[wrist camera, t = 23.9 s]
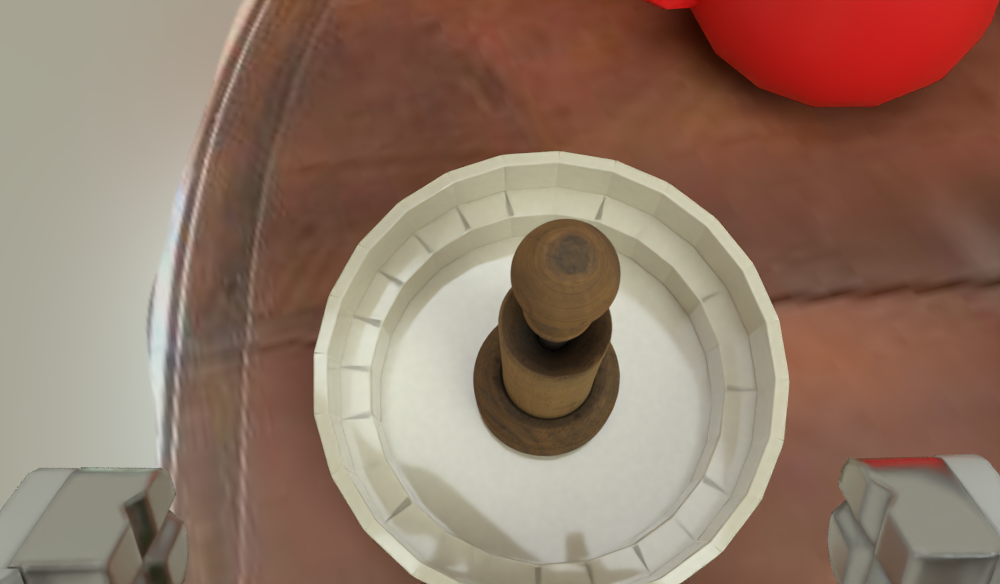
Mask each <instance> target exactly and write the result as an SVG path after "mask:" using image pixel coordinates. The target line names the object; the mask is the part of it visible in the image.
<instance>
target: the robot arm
mask: <svg viewBox="0 0 1000 584" xmlns="http://www.w3.org/2000/svg"><path fill="white" fill-rule="evenodd" d="M838 485H839V487H840V489H841V491H842V493H843V494H844V496H845V498H846V500H845V501H844V502H843V503H842V504H841V505H840V506H839V507H837V508H836V509H835V510H834V511H833V512H832V513H831V519H830V524H829V530H828V548H829V558H830V562H831V566H832V570H833V573H834V576H835V578H836V580H837V583H838V584H1000V475H999V474H998V473H997V472H996V470H995V469H994V468H993V467H992V465H991V464H990V463H989V462H988V461H987V460H986V459H985V458H983V457H981V456H979V455H977V454H959V455H934V456H932V457H882V458H848V460H847V461H846V463H845V464H844V466H843V467H842V471H841V475H840V479H839V483H838ZM175 496H176V491H175V488H174V485H173V481H172V478H171V475H170V473H169V472H168V471H166V470H164V469H162V468H80V469H78V468H39V469H37V470H35V471H33V472H31V473H29V474H28V475H27V476H26V477H25V478H24V480H23V481H22V482H21V484H20V485H19V486H18V488H17V489H16V490H15V492H14V493H13V494H12V495H11V497H10V498H9V500H8V501H7V502H6V503H5V505H4V506H3V507H2V509H1V510H0V584H183V583H184V580H185V574H186V568H187V562H188V539H187V534H186V530H185V526H184V522H183V521H182V520H180V519H179V518H178V517H177V516H176V515H175V514H173V513H172V512H171V511H170V510H169V508H170V506H171V504H172V502H173V500H174V498H175Z"/></svg>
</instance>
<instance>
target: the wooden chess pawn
mask: <svg viewBox="0 0 1000 584" xmlns="http://www.w3.org/2000/svg"><path fill="white" fill-rule="evenodd" d="M620 277H621V271H620V263H619V258H618V255H617V253H616V250H615V248H614V246H613V245H612V243H611V242H610V240H609V239H608V238H607V237H606V236H605V234H603V233H602V232H601V231H600V230H599V229H597V228H596V227H594V226H593V225H591V224H589V223H586V222H583V221H580V220H575V219H558V220H553V221H549V222H547V223H544V224H542V225H540V226H538V227H536V228H535V229H533V230H532V231H531V232H530V233H529V234H528V235H527V236H526V237H525V238H524V239H523V240H522V241H521V243H520V244H519V246H518V247H517V249H516V251H515V254H514V256H513V259H512V263H511V270H510V279H511V286H512V287H511V288H510V289H509V291H508V292H507V294H506V295H505V297H504V299H503V301H502V304H501V307H500V311H499V317H498V325H497V326H496V327H495V328H494V329H493V330H492V331H491V332H490V334H489V335H488V336H487V338H486V339H485V341H484V342H483V344H482V346H481V348H480V350H479V352H478V355H477V358H476V361H475V366H474V373H473V387H474V393H475V398H476V403H477V406H478V409H479V412H480V414H481V417H482V419H483V420H484V422H485V424H486V425H487V427H488V428H489V430H490V431H491V432H492V433H493V434H494V435H495V436H496V437H497V438H498V439H499V440H500V441H501V442H503V443H504V444H506V445H507V446H509V447H511V448H513V449H515V450H517V451H519V452H522V453H526V454H530V455H535V456H554V455H560V454H564V453H568V452H570V451H573V450H575V449H577V448H579V447H581V446H583V445H584V444H586V443H587V442H588V441H590V440H591V439H592V438H593V437H594V436H595V435H596V434H597V433H598V432H599V431H600V430H601V428H602V427H603V426H604V424H605V423H606V421H607V419H608V418H609V416H610V414H611V412H612V410H613V408H614V406H615V403H616V400H617V396H618V392H619V385H620V370H619V364H618V359H617V356H616V353H615V350H614V348H613V346H612V344H611V342H610V341H611V336H612V317H611V312H610V309H609V307H610V306H611V304H612V303H613V301H614V299H615V297H616V295H617V293H618V289H619V285H620Z"/></svg>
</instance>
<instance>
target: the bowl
mask: <svg viewBox="0 0 1000 584" xmlns="http://www.w3.org/2000/svg"><path fill="white" fill-rule="evenodd" d="M558 219H575V220H580V221H583V222H586V223H589V224H591V225H593V226H594V227H596V228H597V229H599V230H600V231H601V232H602V233H603V234H605V236H606V237H607V238H608V239H609V240H610V242H611V243H612V245H613V246H614V248H615V250H616V253H617V255H618V258H619V263H620V271H621V277H620V285H619V289H618V293H617V295H616V297H615V299H614V301H613V303H612V304H611V306H610V307H609V309H610V312H611V317H612V336H611V341H610V342H611V344H612V346H613V348H614V350H615V353H616V356H617V359H618V364H619V370H620V385H619V392H618V396H617V400H616V403H615V406H614V408H613V410H612V412H611V414H610V416H609V418H608V419H607V421H606V423H605V424H604V426H603V427H602V428H601V430H600V431H599V432H598V433H597V434H596V435H595V436H594V437H593V438H592V439H591V440H590V441H588V442H587V443H586V444H584V445H583V446H581V447H579V448H577V449H575V450H573V451H570V452H568V453H564V454H560V455H554V456H535V455H530V454H526V453H522V452H519V451H517V450H515V449H513V448H511V447H509V446H507V445H506V444H504V443H503V442H501V441H500V440H499V439H498V438H497V437H496V436H495V435H494V434H493V433H492V432H491V431H490V430H489V428H488V427H487V425H486V424H485V422H484V420H483V419H482V417H481V414H480V412H479V409H478V406H477V403H476V398H475V393H474V387H473V373H474V366H475V361H476V358H477V355H478V352H479V350H480V348H481V346H482V344H483V342H484V341H485V339H486V338H487V336H488V335H489V334H490V332H491V331H492V330H493V329H494V328H495V327H496V326H497V325H498V317H499V311H500V307H501V304H502V301H503V299H504V297H505V295H506V294H507V292H508V291H509V289H510V288H511V287H512V286H511V279H510V270H511V263H512V259H513V256H514V254H515V251H516V249H517V247H518V246H519V244H520V243H521V241H522V240H523V239H524V238H525V237H526V236H527V235H528V234H529V233H530V232H531V231H532V230H533V229H535V228H536V227H538V226H540V225H542V224H544V223H547V222H549V221H553V220H558ZM313 358H314V414H315V415H314V417H315V421H316V424H317V428H318V431H319V435H320V439H321V442H322V446H323V449H324V453H325V456H326V460H327V464H328V467H329V471H330V474H331V477H332V478H333V480H334V482H335V483H336V485H337V487H338V488H339V490H340V492H341V493H342V495H343V497H344V498H345V500H346V502H347V503H348V505H349V507H350V508H351V510H352V512H353V513H354V515H355V517H356V518H357V520H358V522H359V523H360V525H361V527H362V528H363V530H365V532H366V533H367V534H368V535H369V536H370V537H371V538H372V539H373V540H374V541H375V542H377V543H378V544H379V545H380V546H381V547H382V548H383V549H384V550H385V551H386V552H387V553H388V554H389V555H390V556H391V557H392V558H393V559H395V560H396V561H397V562H398V563H399V564H400V565H401V566H402V567H403V568H404V569H405V570H406V571H407V572H408V573H409V574H410V575H413V577H415V578H417V579H419V580H421V581H422V582H424V583H426V584H681V583H682V582H684V581H685V580H686V579H688V578H689V577H690V576H692V575H693V574H694V573H696V572H697V571H698V570H700V569H701V568H702V567H704V566H705V565H706V564H708V563H709V562H711V561H712V560H713V559H715V558H716V557H717V556H719V555H720V554H721V552H723V551H724V550H725V548H726V547H727V546H728V544H729V543H730V542H731V540H732V539H733V538H734V536H735V535H736V534H737V532H738V531H739V530H740V528H741V527H742V526H743V524H744V523H745V522H746V520H747V519H748V518H749V517H750V515H751V514H752V513H753V511H754V510H755V509H756V507H757V506H758V505H759V503H760V501H761V500H762V498H763V495H764V492H765V490H766V487H767V485H768V482H769V479H770V477H771V474H772V472H773V469H774V467H775V464H776V461H777V459H778V456H779V454H780V451H781V448H782V446H783V441H784V435H785V424H786V414H787V403H788V392H789V373H788V367H787V362H786V356H785V350H784V345H783V339H782V333H781V327H780V322H779V320H778V316H777V314H776V312H775V309H774V307H773V305H772V303H771V301H770V299H769V296H768V294H767V292H766V290H765V288H764V286H763V283H762V281H761V279H760V277H759V275H758V273H757V270H756V268H755V266H754V265H753V263H752V262H751V260H750V259H749V258H748V257H747V255H746V254H745V253H744V252H743V251H742V249H741V248H740V247H739V246H738V244H737V243H736V242H735V241H734V239H733V238H732V237H731V236H730V235H729V233H728V232H727V231H726V230H725V228H724V227H723V226H722V225H721V224H720V222H719V221H718V220H717V219H715V217H714V216H712V215H711V214H710V213H708V212H707V211H706V210H704V209H703V208H702V207H700V206H699V205H698V204H696V203H695V202H694V201H692V200H691V199H690V198H688V197H687V196H686V195H684V194H683V193H682V192H680V191H679V190H678V189H676V188H675V187H674V186H672V185H671V184H669V183H668V182H665V181H663V180H661V179H658V178H656V177H654V176H651V175H649V174H647V173H644V172H642V171H640V170H637V169H635V168H633V167H630V166H628V165H626V164H623V163H621V162H619V161H615V160H611V159H605V158H599V157H593V156H587V155H581V154H575V153H569V152H563V151H559V152H558V151H549V152H535V153H521V154H508V155H502V156H501V155H500V156H496V157H493V158H490V159H487V160H484V161H481V162H478V163H475V164H472V165H468V166H465V167H462V168H459V169H456V170H453V171H450V172H448V173H445V174H444V175H442V176H440V177H439V178H437V179H435V180H434V181H432V182H431V183H429V184H427V185H426V186H424V187H422V188H421V189H419V190H418V191H416V192H414V193H413V194H411V195H410V196H408V197H406V198H405V199H403V200H401V201H400V202H399V203H398V204H396V205H395V206H394V207H393V209H392V210H391V211H390V212H389V213H388V214H387V215H386V216H385V217H384V218H383V219H382V220H381V221H380V222H379V223H378V224H377V225H376V226H375V227H374V228H373V229H372V230H371V231H370V232H369V233H368V234H367V235H366V236H365V237H364V238H363V239H362V241H361V242H360V243H359V245H357V247H356V248H355V250H354V252H353V254H352V255H351V257H350V259H349V261H348V263H347V264H346V266H345V268H344V270H343V271H342V273H341V275H340V277H339V278H338V280H337V282H336V284H335V285H334V287H333V289H332V291H331V292H330V296H329V297H328V300H327V304H326V308H325V312H324V315H323V319H322V323H321V327H320V331H319V334H318V338H317V342H316V346H315V350H314V355H313Z"/></svg>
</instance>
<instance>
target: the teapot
mask: <svg viewBox="0 0 1000 584" xmlns="http://www.w3.org/2000/svg"><path fill="white" fill-rule="evenodd" d="M643 1H645V2H647V3H649V4H652V5H654V6H656V7H658V8H661V9H663V10H664V9H677V8H690V9H691V11H692V13H693V14H694V16H695V18H696V20H697V21H698V23H699V25H700V27H701V29H702V30H703V32H704V34H705V36H706V37H707V39H708V41H709V43H710V45H711V46H712V48H713V50H714V52H715V53H716V54H717V55H718V56H719V57H721V58H722V59H723V60H724V61H726V62H727V63H728V64H729V65H731V66H732V67H733V68H734V69H736V70H737V71H738V72H739V73H741V74H742V75H743V76H744V77H746V78H747V79H748V80H749V81H751V82H752V83H753V84H754V85H756V86H757V87H758V88H760V89H763V90H766V91H769V92H772V93H775V94H778V95H780V96H783V97H786V98H789V99H792V100H795V101H798V102H801V103H804V104H806V105H809V106H812V107H875V106H878V105H880V104H883V103H885V102H888V101H891V100H893V99H896V98H898V97H901V96H903V95H906V94H908V93H911V92H914V91H916V90H919V89H921V88H924V87H926V86H929V85H930V84H932V83H934V82H936V81H938V80H940V79H942V78H944V77H945V75H946V74H947V73H948V72H949V71H950V70H951V69H952V68H953V67H954V66H955V65H956V64H957V63H958V62H959V61H960V60H961V59H962V58H963V57H964V56H965V55H966V54H967V53H968V52H969V51H970V50H971V48H972V47H973V46H974V45H975V44H976V43H977V42H978V41H979V40H980V39H981V37H982V36H983V34H984V33H985V31H986V29H987V28H988V26H989V25H990V23H991V22H992V19H993V16H994V13H995V10H996V7H997V5H998V2H999V0H643Z"/></svg>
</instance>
